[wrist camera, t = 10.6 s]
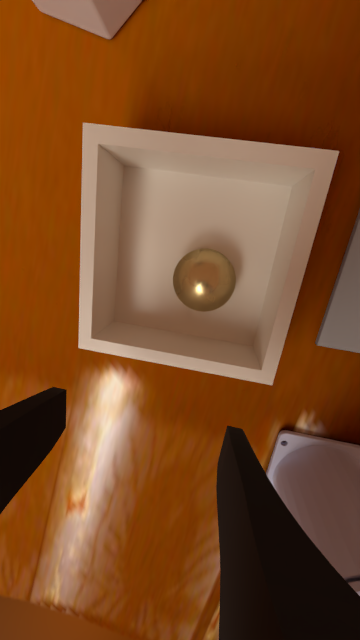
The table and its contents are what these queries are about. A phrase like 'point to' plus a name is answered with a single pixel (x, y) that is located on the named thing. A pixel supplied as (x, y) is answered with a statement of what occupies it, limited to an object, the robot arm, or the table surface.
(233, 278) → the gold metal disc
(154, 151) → the box
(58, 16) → the jar
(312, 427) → the table surface
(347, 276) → the lid
